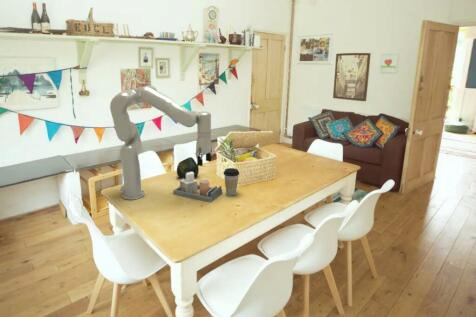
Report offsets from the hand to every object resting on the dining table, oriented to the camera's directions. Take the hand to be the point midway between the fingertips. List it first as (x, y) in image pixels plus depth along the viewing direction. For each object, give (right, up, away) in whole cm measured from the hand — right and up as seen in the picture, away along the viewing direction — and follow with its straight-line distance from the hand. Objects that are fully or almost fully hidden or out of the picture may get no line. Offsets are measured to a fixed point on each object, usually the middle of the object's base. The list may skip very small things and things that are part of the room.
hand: (204, 163), depth 184 cm
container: (-10, -18, +10) cm, 23 cm away
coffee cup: (+15, -19, +9) cm, 26 cm away
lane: (-5, -18, +8) cm, 21 cm away
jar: (-1, -19, +6) cm, 20 cm away
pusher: (+4, -20, +4) cm, 21 cm away
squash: (-15, -10, +34) cm, 38 cm away
